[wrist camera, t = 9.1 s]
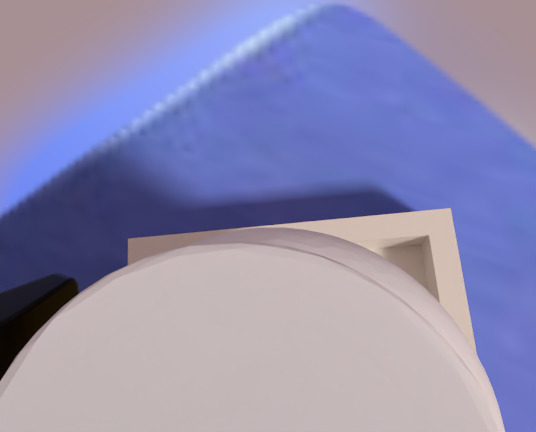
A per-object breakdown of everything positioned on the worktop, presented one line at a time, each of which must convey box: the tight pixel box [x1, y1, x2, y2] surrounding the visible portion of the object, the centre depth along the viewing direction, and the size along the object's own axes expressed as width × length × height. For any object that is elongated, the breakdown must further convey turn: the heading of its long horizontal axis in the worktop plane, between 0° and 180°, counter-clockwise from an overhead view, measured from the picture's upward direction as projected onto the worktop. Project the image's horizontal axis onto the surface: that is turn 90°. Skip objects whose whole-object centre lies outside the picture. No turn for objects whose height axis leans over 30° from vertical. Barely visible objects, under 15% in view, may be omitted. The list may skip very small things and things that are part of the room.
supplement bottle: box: [0, 227, 505, 432], centre depth 10 cm, size 7×7×13 cm
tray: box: [128, 208, 477, 355], centre depth 16 cm, size 11×11×2 cm
